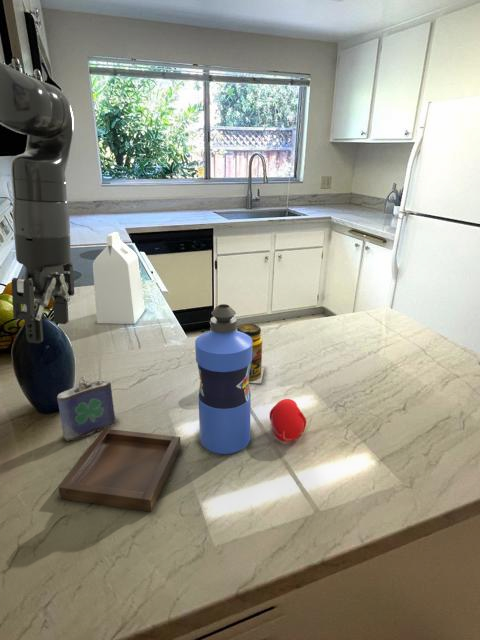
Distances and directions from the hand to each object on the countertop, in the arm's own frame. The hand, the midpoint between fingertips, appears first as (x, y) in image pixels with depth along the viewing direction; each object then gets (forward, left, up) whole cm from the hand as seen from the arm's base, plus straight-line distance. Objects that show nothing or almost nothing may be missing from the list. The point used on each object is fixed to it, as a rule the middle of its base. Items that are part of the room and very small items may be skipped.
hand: (49, 332), depth 65 cm
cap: (+39, +7, -20) cm, 45 cm away
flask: (+3, +2, -20) cm, 21 cm away
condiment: (+28, +27, -20) cm, 44 cm away
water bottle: (+28, +4, -20) cm, 35 cm away
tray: (+14, -7, -20) cm, 26 cm away
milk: (-16, +57, -20) cm, 63 cm away
